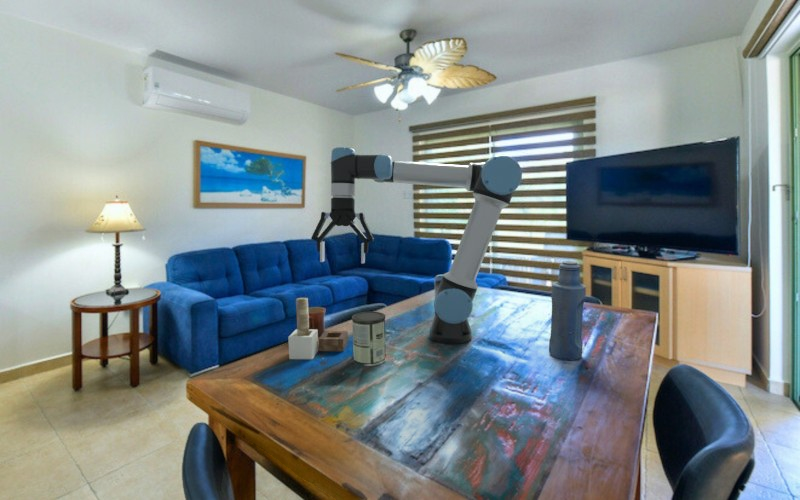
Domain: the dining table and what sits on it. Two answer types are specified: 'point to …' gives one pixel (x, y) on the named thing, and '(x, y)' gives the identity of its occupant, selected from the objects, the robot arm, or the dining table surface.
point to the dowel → (302, 317)
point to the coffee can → (369, 338)
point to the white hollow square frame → (303, 345)
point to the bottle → (567, 313)
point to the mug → (317, 319)
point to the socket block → (333, 341)
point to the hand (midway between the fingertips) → (342, 262)
